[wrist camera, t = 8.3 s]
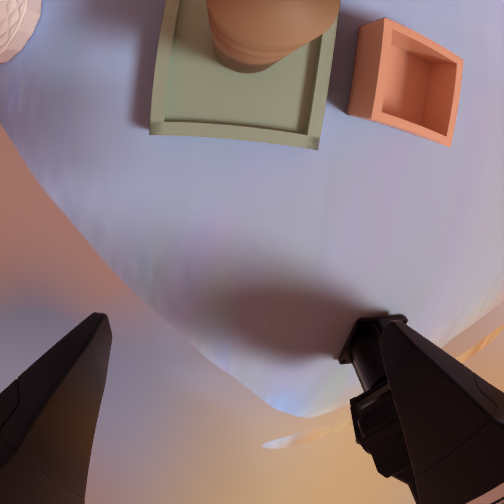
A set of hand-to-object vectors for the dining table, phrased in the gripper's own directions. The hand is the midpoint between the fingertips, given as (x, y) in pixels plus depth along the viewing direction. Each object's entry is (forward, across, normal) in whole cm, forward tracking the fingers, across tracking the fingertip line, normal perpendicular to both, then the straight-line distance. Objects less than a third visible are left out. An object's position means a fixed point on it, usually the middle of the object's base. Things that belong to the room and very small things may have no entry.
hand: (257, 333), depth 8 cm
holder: (+12, -10, -10) cm, 19 cm away
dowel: (+12, 0, -10) cm, 15 cm away
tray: (+12, +1, -10) cm, 16 cm away
